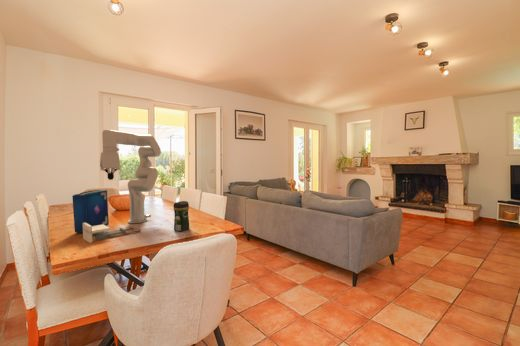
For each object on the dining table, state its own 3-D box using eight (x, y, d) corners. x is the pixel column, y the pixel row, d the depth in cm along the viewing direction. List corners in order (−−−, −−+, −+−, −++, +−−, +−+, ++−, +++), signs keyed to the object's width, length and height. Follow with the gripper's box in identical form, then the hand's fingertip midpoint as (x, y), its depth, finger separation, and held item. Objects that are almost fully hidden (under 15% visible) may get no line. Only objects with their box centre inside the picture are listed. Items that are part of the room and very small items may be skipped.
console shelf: (103, 234, 155) (103, 219, 155) (110, 238, 147) (109, 223, 147) (83, 238, 147) (82, 222, 147) (89, 242, 139) (88, 226, 139)
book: (81, 234, 155) (80, 193, 154) (72, 233, 156) (70, 193, 155) (109, 225, 176) (108, 189, 175) (100, 225, 177) (99, 189, 176)
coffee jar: (181, 227, 172) (181, 200, 171) (191, 228, 168) (190, 200, 168) (171, 231, 163) (171, 202, 162) (181, 232, 160) (181, 203, 159)
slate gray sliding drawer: (121, 232, 160) (121, 227, 160) (125, 235, 155) (125, 229, 155) (92, 238, 149) (91, 232, 148) (95, 241, 144) (95, 235, 144)
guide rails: (133, 228, 168) (133, 227, 168) (140, 231, 161) (140, 230, 161) (103, 234, 155) (103, 232, 155) (109, 238, 148) (109, 236, 148)
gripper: (120, 150, 166) (121, 178, 167) (94, 149, 155) (95, 180, 156) (125, 150, 161) (125, 179, 162) (98, 149, 150) (99, 180, 151)
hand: (110, 179), depth 159 cm, fingers closed
